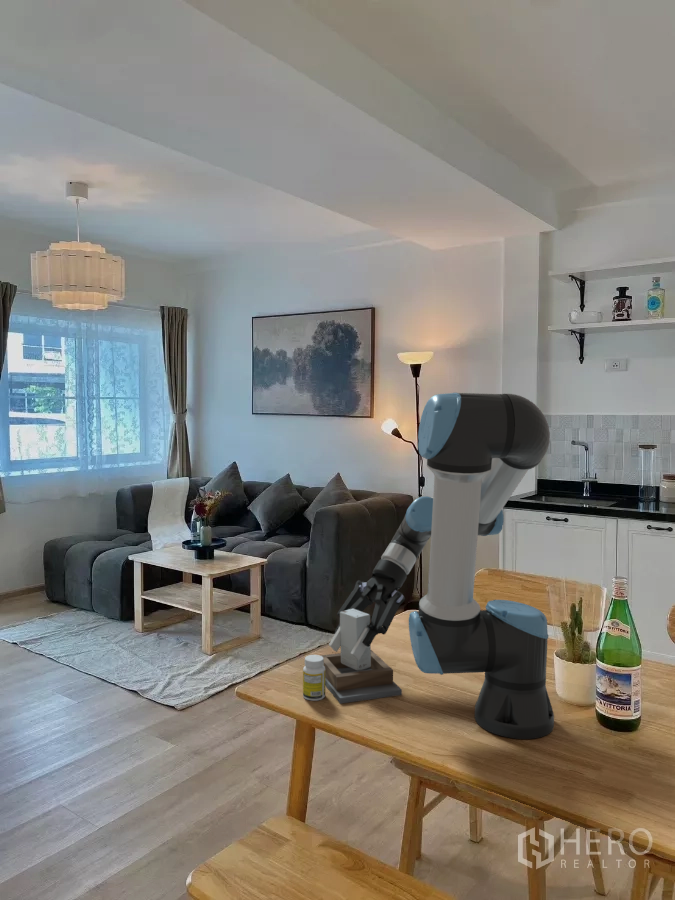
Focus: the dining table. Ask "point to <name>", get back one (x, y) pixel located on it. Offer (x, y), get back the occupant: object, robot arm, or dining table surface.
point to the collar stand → (359, 680)
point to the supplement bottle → (314, 678)
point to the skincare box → (353, 638)
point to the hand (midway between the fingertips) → (343, 652)
